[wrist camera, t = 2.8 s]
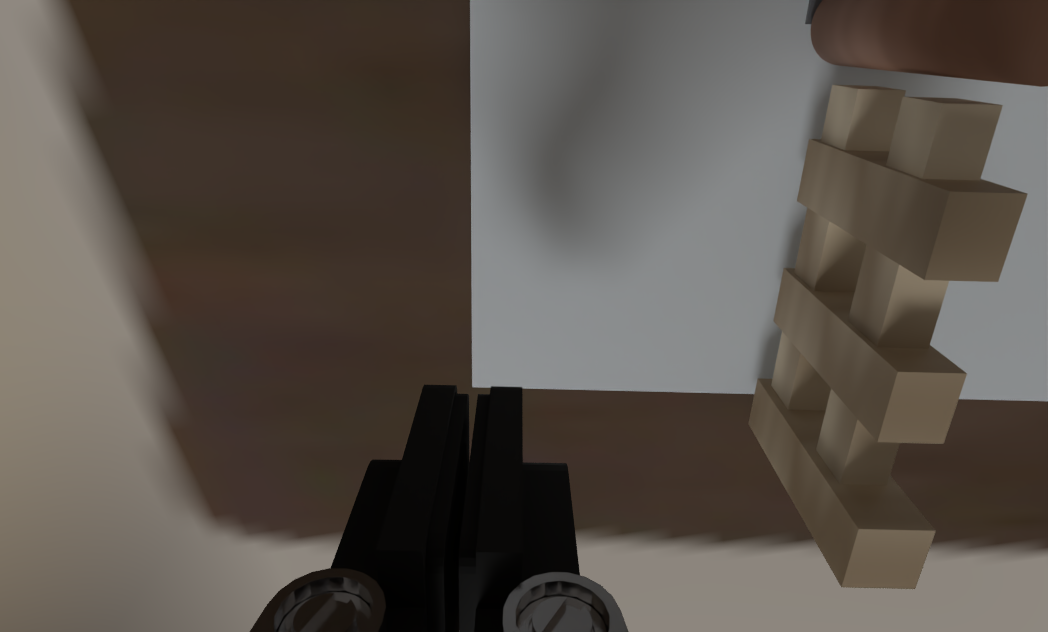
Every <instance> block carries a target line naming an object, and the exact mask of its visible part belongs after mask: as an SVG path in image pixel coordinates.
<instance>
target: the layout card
mask: <svg viewBox="0 0 1048 632" xmlns="http://www.w3.org/2000/svg"><path fill="white" fill-rule="evenodd" d="M821 2H822V0H470V75H471V252H472V387H489V388H491V386H503V387H522V388H530V389H571V390H612V391H653V392H694V393H735V394H755V389H756V384H757V379H758V378H762V379H773V374H774V369H775V364H776V359H777V354H778V349H779V344H780V339H781V334H782V331H781V329H780V328H779V327H778V326H777V325H776V324H775V322H774V321H773V320H774V315H775V310H776V305H777V300H778V294H779V289H780V284H781V279H782V274H783V269H784V268H795V266H796V261H797V256H798V251H799V246H800V241H801V236H802V231H803V226H804V221H805V216H806V211H807V207H806V206H804V205H802V204H801V203H799V202H798V201H797V197H798V192H799V187H800V182H801V177H802V172H803V167H804V162H805V157H806V151H807V146H808V141H809V139H821V138H822V133H823V128H824V123H825V118H826V113H827V108H828V103H829V98H830V93H831V88H832V85H861V86H880V87H887V88H893V89H900V90H906V93H905V97H933V98H959V99H966V100H972V101H979V102H986V103H992V104H999V105H1003V107H1002V110H1001V113H1000V116H999V120H998V123H997V126H996V130H995V133H994V136H993V139H992V143H991V146H990V149H989V152H988V156H987V159H986V162H985V166H984V169H983V172H982V175H981V179H983V180H986V181H990V182H993V183H996V184H999V185H1002V186H1005V187H1008V188H1011V189H1015V190H1018V191H1021V192H1024V193H1027V194H1028V195H1027V198H1026V201H1025V204H1024V207H1023V210H1022V213H1021V216H1020V218H1019V221H1018V224H1017V227H1016V230H1015V233H1014V236H1013V239H1012V242H1011V245H1010V248H1009V251H1008V254H1007V257H1006V260H1005V263H1004V266H1003V269H1002V272H1001V275H1000V278H999V281H998V282H978V281H949V283H948V287H947V290H946V293H945V297H944V300H943V303H942V306H941V310H940V313H939V316H938V319H937V323H936V326H935V329H934V333H933V336H932V339H931V342H930V345H931V346H932V347H933V348H935V349H936V350H937V351H939V352H940V353H941V354H942V355H944V356H945V357H946V358H948V359H949V360H950V361H952V362H953V363H954V364H955V365H957V366H958V367H959V368H961V369H962V370H963V371H964V372H966V373H967V376H966V378H965V381H964V384H963V387H962V390H961V393H960V396H959V399H981V400H1022V401H1048V86H1045V87H1039V86H1030V85H1020V84H1010V83H1001V82H991V81H982V80H972V79H963V78H953V77H944V76H934V75H924V74H915V73H905V72H896V71H886V70H877V69H867V68H858V67H848V66H838V65H833V64H830V63H828V62H826V61H824V60H823V59H822V58H821V57H820V56H819V55H818V54H817V53H816V51H815V49H814V47H813V45H812V41H811V23H812V19H813V16H814V13H815V11H816V9H817V7H818V6H819V4H820V3H821Z"/></svg>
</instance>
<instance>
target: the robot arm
mask: <svg viewBox="0 0 1048 632" xmlns="http://www.w3.org/2000/svg"><path fill="white" fill-rule="evenodd" d="M250 632H628V629H627V627H626V624H625V621H624V618H623V616H622V613H621V610H620V608H619V607H618V605H617V603H616V602H615V600H614V598H613V597H612V595H611V594H609V593H608V592H607V591H606V590H605V589H604V588H603V587H602V586H601V585H599V584H597V583H596V582H594V581H592V580H590V579H588V578H586V577H584V576H580V573H579V564H578V556H577V546H576V537H575V528H574V519H573V510H572V501H571V492H570V483H569V474H568V467H567V464H566V463H523V456H522V387H503V386H491V390H490V395H488V394H478V399H477V407H476V415H475V423H474V431H473V439H472V447H471V455H470V463H469V395H468V394H457V387H456V385H424V386H423V389H422V393H421V396H420V400H419V403H418V407H417V410H416V413H415V417H414V420H413V424H412V427H411V431H410V434H409V438H408V441H407V444H406V448H405V451H404V455H403V458H402V460H372V461H371V462H370V464H369V466H368V468H367V471H366V473H365V476H364V479H363V481H362V484H361V487H360V490H359V492H358V495H357V498H356V501H355V503H354V506H353V509H352V511H351V514H350V517H349V520H348V522H347V525H346V528H345V530H344V533H343V536H342V539H341V541H340V544H339V547H338V550H337V552H336V555H335V558H334V560H333V563H332V566H331V568H330V569H325V570H320V571H315V572H311V573H309V574H307V575H304V576H302V577H300V578H298V579H295V580H294V581H292V582H291V583H289V584H288V585H287V586H285V587H284V588H282V589H281V590H280V591H279V592H278V593H277V594H276V595H275V596H274V597H273V599H272V600H271V601H270V602H269V603H268V604H267V606H266V607H265V609H264V610H263V612H262V614H261V615H260V617H259V618H258V620H257V621H256V623H255V624H254V626H253V628H252V629H251V630H250Z"/></svg>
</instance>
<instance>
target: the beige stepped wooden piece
mask: <svg viewBox="0 0 1048 632" xmlns="http://www.w3.org/2000/svg"><path fill="white" fill-rule="evenodd" d="M811 41H812V45H813V47H814V49H815V51H816V53H817V54H818V55H819V56H820V57H821V58H822V59H823V60H824V61H826V62H828V63H830V64H833V65H838V66H848V67H858V68H867V69H877V70H886V71H896V72H905V73H915V74H924V75H934V76H944V77H953V78H963V79H972V80H982V81H991V82H1001V83H1010V84H1020V85H1030V86H1039V87H1045V86H1048V0H822V2H821V3H820V4H819V6H818V7H817V9H816V11H815V13H814V16H813V19H812V23H811ZM905 93H906V90H900V89H893V88H887V87H880V86H861V85H832V88H831V93H830V98H829V103H828V108H827V113H826V118H825V123H824V128H823V133H822V138H821V139H809V141H808V146H807V151H806V157H805V162H804V167H803V172H802V177H801V182H800V187H799V192H798V197H797V201H798V202H799V203H801V204H802V205H804V206H806V207H807V211H806V216H805V221H804V226H803V231H802V236H801V241H800V246H799V251H798V256H797V261H796V266H795V268H784V269H783V274H782V279H781V284H780V289H779V294H778V300H777V305H776V310H775V315H774V320H773V321H774V322H775V324H776V325H777V326H778V327H779V328H780V329H781V331H782V334H781V339H780V344H779V349H778V354H777V359H776V364H775V369H774V374H773V379H762V378H758V379H757V384H756V389H755V394H754V399H753V405H752V410H751V415H750V420H749V426H750V427H751V429H752V431H753V433H754V434H755V436H756V438H757V440H758V441H759V443H760V445H761V447H762V449H763V450H764V452H765V454H766V456H767V457H768V459H769V461H770V463H771V464H772V466H773V468H774V470H775V471H776V473H777V475H778V477H779V478H780V480H781V482H782V484H783V485H784V487H785V489H786V491H787V492H788V494H789V496H790V498H791V499H792V501H793V503H794V505H795V506H796V508H797V510H798V512H799V513H800V515H801V517H802V519H803V520H804V522H805V524H806V526H807V527H808V529H809V531H810V533H811V534H812V536H813V538H814V540H815V542H816V543H817V545H818V547H819V549H820V550H821V552H822V554H823V556H824V557H825V559H826V561H827V563H828V564H829V566H830V568H831V570H832V571H833V573H834V575H835V577H836V578H837V580H838V582H839V584H840V585H841V587H852V588H853V587H855V588H898V589H915V588H916V585H917V582H918V579H919V576H920V574H921V571H922V568H923V565H924V562H925V560H926V557H927V554H928V551H929V548H930V546H931V543H932V540H933V537H934V534H935V529H934V528H933V527H932V526H931V525H930V523H929V522H928V521H927V520H926V518H925V517H924V516H923V515H922V514H921V512H920V511H919V510H918V509H917V508H916V506H915V505H914V504H913V503H912V501H911V500H910V499H909V498H908V497H907V495H906V494H905V493H904V492H903V491H902V489H901V488H900V487H899V486H898V484H897V483H896V482H895V481H894V480H893V478H892V477H891V476H890V473H891V470H892V467H893V463H894V460H895V457H896V454H897V450H898V447H899V444H900V443H932V444H944V441H945V438H946V435H947V432H948V429H949V426H950V423H951V420H952V417H953V414H954V411H955V408H956V405H957V402H958V399H959V396H960V393H961V390H962V387H963V384H964V381H965V378H966V376H967V373H966V372H964V371H963V370H962V369H961V368H959V367H958V366H957V365H955V364H954V363H953V362H952V361H950V360H949V359H948V358H946V357H945V356H944V355H942V354H941V353H940V352H939V351H937V350H936V349H935V348H933V347H932V346H931V345H930V342H931V339H932V336H933V333H934V329H935V326H936V323H937V319H938V316H939V313H940V310H941V306H942V303H943V300H944V297H945V293H946V290H947V287H948V283H949V281H978V282H998V281H999V278H1000V275H1001V272H1002V269H1003V266H1004V263H1005V260H1006V257H1007V254H1008V251H1009V248H1010V245H1011V242H1012V239H1013V236H1014V233H1015V230H1016V227H1017V224H1018V221H1019V218H1020V216H1021V213H1022V210H1023V207H1024V204H1025V201H1026V198H1027V195H1028V194H1027V193H1024V192H1021V191H1018V190H1015V189H1011V188H1008V187H1005V186H1002V185H999V184H996V183H993V182H990V181H986V180H983V179H981V175H982V172H983V169H984V166H985V162H986V159H987V156H988V152H989V149H990V146H991V143H992V139H993V136H994V133H995V130H996V126H997V123H998V120H999V116H1000V113H1001V110H1002V107H1003V105H999V104H992V103H986V102H979V101H972V100H966V99H959V98H933V97H905Z"/></svg>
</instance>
